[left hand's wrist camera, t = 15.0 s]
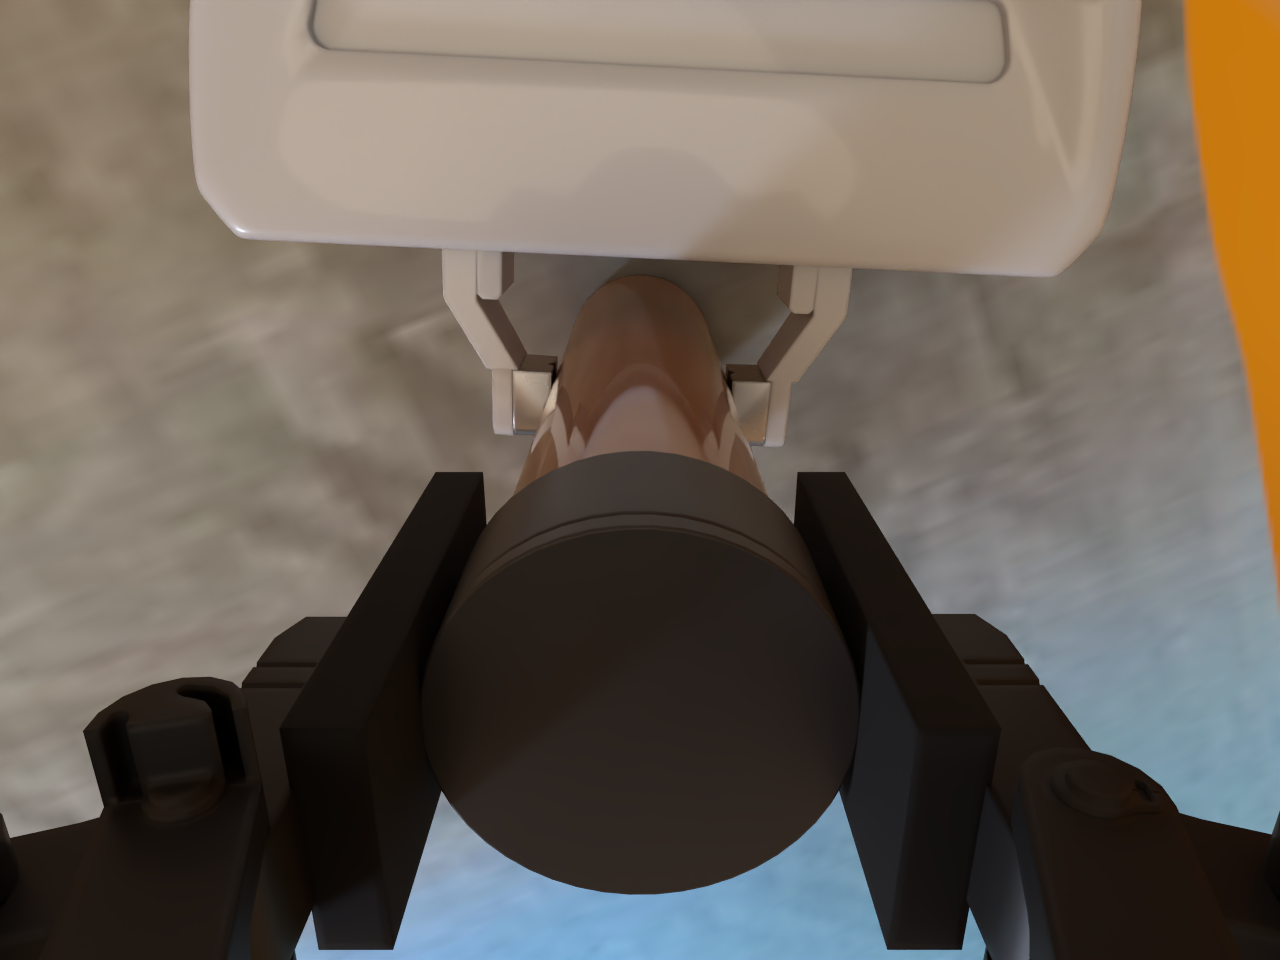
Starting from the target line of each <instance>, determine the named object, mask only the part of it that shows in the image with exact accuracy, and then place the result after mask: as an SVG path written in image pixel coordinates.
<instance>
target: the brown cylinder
mask: <svg viewBox="0 0 1280 960" xmlns="http://www.w3.org/2000/svg"><path fill="white" fill-rule="evenodd" d="M623 451H655V452H664V453H673V454H679V455H683V456H687V457H691V458H695V459H700V460H703V461H705V462H708V463H711V464H713V465H716V466H719V467H721V468H724V469H726V470H728V471H730V472H731V473H733V474H735V475H737V476H739V477H741V478H743V479H744V480H746V481H748V482H749V483H750V484H752V485H753V486H755V487H756V488H757V489H759V490H760V491H761V492H763V493H764V494H766V495H767V492H766V489H765V486H764V484H763V481H762V478H761V475H760V472H759V470H758V467H757V464H756V461H755V458H754V456H753V453H752V450H751V447H750V444H749V442H748V439H747V436H746V433H745V430H744V427H743V425H742V422H741V419H740V416H739V413H738V411H737V408H736V405H735V402H734V399H733V397H732V394H731V391H730V388H729V385H728V383H727V380H726V377H725V374H724V371H723V368H722V366H721V363H720V360H719V357H718V354H717V352H716V349H715V346H714V343H713V340H712V338H711V335H710V332H709V329H708V326H707V324H706V321H705V318H704V316H703V314H702V312H701V310H700V308H699V306H698V305H697V304H696V302H695V301H694V300H693V298H692V297H691V296H690V295H689V294H688V293H687V292H685V291H684V290H683V289H681V288H680V287H679V286H677V285H675V284H674V283H672V282H670V281H667V280H665V279H662V278H658V277H655V276H648V275H633V276H626V277H623V278H619V279H616V280H614V281H612V282H609V283H607V284H606V285H604V286H603V287H601V288H600V289H598V290H597V291H596V292H595V293H593V295H592V296H591V297H590V298H589V299H588V300H587V301H586V303H585V304H584V305H583V307H582V308H581V310H580V312H579V314H578V316H577V319H576V322H575V324H574V327H573V330H572V333H571V335H570V338H569V341H568V344H567V347H566V349H565V352H564V355H563V358H562V361H561V363H560V366H559V369H558V372H557V375H556V377H555V380H554V383H553V386H552V388H551V391H550V394H549V397H548V400H547V402H546V405H545V408H544V411H543V414H542V416H541V419H540V422H539V425H538V428H537V430H536V433H535V436H534V439H533V442H532V444H531V447H530V450H529V453H528V456H527V458H526V461H525V464H524V467H523V470H522V472H521V475H520V478H519V481H518V484H517V486H516V489H515V492H514V495H515V494H517V493H518V492H519V491H521V490H522V489H523V488H525V487H526V486H527V485H529V484H530V483H531V482H533V481H535V480H537V479H538V478H540V477H542V476H544V475H545V474H547V473H549V472H551V471H553V470H555V469H557V468H560V467H562V466H565V465H567V464H570V463H572V462H575V461H578V460H582V459H586V458H589V457H593V456H597V455H601V454H609V453H616V452H623ZM514 495H513V496H514ZM767 496H768V495H767Z"/></svg>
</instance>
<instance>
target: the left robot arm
mask: <svg viewBox="0 0 1280 960" xmlns="http://www.w3.org/2000/svg"><path fill="white" fill-rule="evenodd" d="M486 526H487V524H486V510H485V495H484V481H483V472H436V473H435V474H434V476H433V477H432V479H431V481H430V482H429V484H428V486H427V487H426V489H425V490H424V492H423V494H422V495H421V497H420V499H419V500H418V502H417V504H416V505H415V507H414V508H413V510H412V512H411V513H410V515H409V517H408V518H407V520H406V522H405V523H404V525H403V526H402V528H401V530H400V531H399V533H398V535H397V536H396V538H395V539H394V541H393V543H392V544H391V546H390V548H389V549H388V551H387V553H386V554H385V556H384V557H383V559H382V561H381V562H380V564H379V566H378V567H377V569H376V571H375V572H374V574H373V575H372V577H371V579H370V580H369V582H368V584H367V585H366V587H365V588H364V590H363V592H362V593H361V595H360V597H359V598H358V600H357V602H356V603H355V605H354V606H353V608H352V610H351V611H350V613H349V615H348V616H347V617H305V618H304V619H302V620H301V621H299V622H298V623H296V624H295V625H293V626H292V627H290V628H289V629H287V630H286V631H284V632H283V633H281V634H280V635H278V636H277V637H275V638H274V640H273V641H272V642H271V644H270V645H269V647H268V648H267V649H266V651H265V652H264V653H263V655H262V656H261V657H260V659H259V660H258V662H257V667H253V668H252V670H251V671H250V673H249V674H248V675H247V677H246V678H245V679H244V681H243V682H242V688H239V687H238V686H236V685H235V684H234V683H233V682H230V681H226V680H222V679H217V678H213V677H192V678H180V679H175V680H171V681H166V682H162V683H157V684H153V685H150V686H148V687H145V688H143V689H140V690H138V691H136V692H133V693H131V694H128V695H126V696H123V697H122V698H120V699H119V700H117V701H116V702H114V703H113V704H111V705H110V706H108V707H107V708H105V709H104V710H102V711H101V712H99V713H98V714H97V715H96V716H95V717H94V719H93V720H92V721H91V722H90V723H89V725H88V726H87V727H86V728H85V729H84V731H83V733H84V736H85V740H86V744H87V747H88V751H89V754H90V758H91V762H92V765H93V769H94V772H95V776H96V780H97V783H98V787H99V790H100V794H101V798H102V801H103V805H104V808H103V811H102V813H101V815H100V817H99V818H95V819H92V820H88V821H85V822H81V823H77V824H73V825H68V826H63V827H59V828H54V829H50V830H45V831H40V832H36V833H31V834H27V835H22V836H17V837H13V838H10V837H9V834H8V831H7V828H6V825H5V822H4V819H3V816H2V814H1V813H0V960H296V954H295V948H296V945H297V943H298V941H299V938H300V936H301V934H302V931H303V929H304V927H305V924H306V922H307V919H308V917H309V915H310V912H311V910H312V914H313V920H314V926H315V931H316V937H317V942H318V948H319V950H393V948H394V945H395V942H396V938H397V935H398V932H399V929H400V925H401V922H402V919H403V915H404V912H405V909H406V906H407V902H408V899H409V896H410V892H411V889H412V886H413V883H414V879H415V876H416V873H417V869H418V866H419V863H420V860H421V856H422V853H423V850H424V846H425V843H426V840H427V837H428V833H429V830H430V827H431V823H432V820H433V817H434V814H435V810H436V807H437V804H438V800H439V797H440V794H441V791H442V790H441V789H440V787H439V785H438V783H437V781H436V779H435V776H434V774H433V772H432V770H431V767H430V765H429V762H428V759H427V755H426V752H425V748H424V740H423V731H422V721H421V711H420V688H421V683H422V678H423V673H424V668H425V665H426V662H427V659H428V656H429V654H430V651H431V648H432V646H433V643H434V640H435V638H436V636H437V633H438V631H439V629H440V626H441V623H442V621H443V619H444V616H445V614H446V611H447V609H448V606H449V604H450V602H451V599H452V597H453V594H454V592H455V589H456V587H457V585H458V582H459V580H460V577H461V575H462V572H463V570H464V568H465V565H466V563H467V560H468V558H469V555H470V553H471V551H472V549H473V547H474V545H475V543H476V542H477V540H478V538H479V536H480V534H481V532H482V531H483V530H484V528H485V527H486ZM794 526H795V527H796V528H797V530H798V532H799V533H800V535H801V537H802V539H803V540H804V542H805V544H806V545H807V547H808V549H809V552H810V554H811V557H812V559H813V562H814V564H815V566H816V569H817V571H818V574H819V576H820V579H821V581H822V584H823V586H824V589H825V591H826V593H827V596H828V598H829V601H830V603H831V606H832V608H833V611H834V613H835V615H836V618H837V620H838V623H839V625H840V628H841V630H842V633H843V635H844V638H845V640H846V643H847V645H848V648H849V650H850V653H851V655H852V658H853V660H854V663H855V667H856V671H857V676H858V680H859V685H860V694H861V708H860V718H859V728H858V737H857V745H856V750H855V754H854V758H853V761H852V764H851V766H850V769H849V771H848V773H847V776H846V778H845V780H844V783H843V784H842V786H841V788H840V789H839V792H840V795H841V799H842V802H843V805H844V808H845V812H846V815H847V818H848V822H849V825H850V828H851V831H852V835H853V838H854V841H855V845H856V848H857V851H858V854H859V858H860V861H861V864H862V868H863V871H864V874H865V877H866V881H867V884H868V887H869V891H870V894H871V897H872V900H873V904H874V907H875V910H876V914H877V917H878V920H879V923H880V927H881V930H882V933H883V937H884V940H885V943H886V946H887V950H962V945H963V940H964V934H965V929H966V923H967V917H968V912H969V907H970V909H971V911H972V914H973V916H974V918H975V921H976V923H977V925H978V928H979V930H980V932H981V935H982V937H983V939H984V942H985V944H986V949H985V954H984V959H983V960H1280V812H1279V815H1278V818H1277V821H1276V824H1275V827H1274V830H1273V833H1272V834H1267V833H1262V832H1258V831H1253V830H1248V829H1244V828H1239V827H1235V826H1230V825H1225V824H1221V823H1216V822H1212V821H1207V820H1202V819H1199V818H1195V817H1192V816H1188V815H1185V814H1181V813H1179V811H1178V809H1177V807H1176V805H1175V804H1174V802H1173V801H1172V800H1171V798H1170V797H1169V795H1168V794H1167V793H1166V791H1165V790H1164V788H1163V787H1162V786H1161V785H1160V784H1158V783H1157V782H1156V781H1154V780H1153V779H1152V778H1150V777H1149V776H1148V775H1146V774H1145V773H1144V772H1143V771H1141V770H1140V769H1138V768H1136V767H1134V766H1132V765H1130V764H1128V763H1126V762H1124V761H1121V760H1119V759H1117V758H1115V757H1113V756H1111V755H1107V754H1103V753H1099V752H1095V751H1091V749H1090V748H1089V747H1088V745H1087V744H1086V743H1085V741H1084V740H1083V738H1082V737H1081V736H1080V734H1079V733H1078V732H1077V730H1076V729H1075V728H1074V726H1073V725H1072V724H1071V722H1070V721H1069V719H1068V718H1067V717H1066V715H1065V714H1064V713H1063V711H1062V710H1061V709H1060V707H1059V706H1058V705H1057V703H1056V702H1055V700H1054V699H1053V698H1052V696H1051V695H1050V694H1049V692H1048V691H1047V690H1046V688H1045V687H1044V686H1043V685H1040V684H1039V679H1038V677H1037V676H1036V675H1035V673H1034V672H1033V671H1032V669H1031V668H1030V667H1029V665H1028V664H1025V663H1024V658H1023V657H1022V656H1021V654H1020V653H1019V652H1018V650H1017V649H1016V648H1015V646H1014V645H1013V643H1012V642H1011V641H1010V639H1009V638H1008V637H1007V635H1005V634H1004V633H1002V632H1001V631H999V630H998V629H996V628H995V627H993V626H992V625H991V624H989V623H988V622H986V621H985V620H983V619H982V618H980V617H979V616H977V615H976V614H931V612H930V610H929V609H928V607H927V605H926V604H925V602H924V601H923V599H922V597H921V596H920V594H919V592H918V591H917V589H916V588H915V586H914V584H913V583H912V581H911V579H910V578H909V576H908V574H907V573H906V571H905V570H904V568H903V566H902V565H901V563H900V561H899V560H898V558H897V557H896V555H895V553H894V552H893V550H892V548H891V547H890V545H889V543H888V542H887V540H886V539H885V537H884V535H883V534H882V532H881V530H880V529H879V527H878V525H877V524H876V522H875V521H874V519H873V517H872V516H871V514H870V512H869V511H868V509H867V508H866V506H865V504H864V503H863V501H862V499H861V498H860V496H859V494H858V493H857V491H856V490H855V488H854V486H853V485H852V483H851V481H850V480H849V478H848V476H847V475H846V473H845V472H798V475H797V489H796V503H795V518H794Z"/></svg>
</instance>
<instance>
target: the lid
mask: <svg viewBox="0 0 1280 960" xmlns="http://www.w3.org/2000/svg"><path fill="white" fill-rule="evenodd" d="M860 708H861V694H860V685H859V680H858V676H857V671H856V667H855V663H854V660H853V658H852V655H851V653H850V650H849V648H848V645H847V643H846V640H845V638H844V635H843V633H842V630H841V628H840V625H839V623H838V620H837V618H836V615H835V613H834V611H833V608H832V606H831V603H830V601H829V598H828V596H827V593H826V591H825V589H824V586H823V584H822V581H821V579H820V576H819V574H818V571H817V569H816V566H815V564H814V562H813V559H812V557H811V554H810V552H809V549H808V547H807V545H806V544H805V542H804V540H803V539H802V537H801V535H800V533H799V532H798V530H797V528H796V527H795V526H794V524H793V523H792V522H791V521H790V519H789V518H788V517H787V516H786V514H785V513H784V512H783V511H782V510H781V509H780V508H779V507H778V506H777V505H776V504H775V503H774V502H773V501H772V500H771V499H770V498H769V497H768V496H767V495H766V494H764V493H763V492H761V491H760V490H759V489H757V488H756V487H755V486H753V485H752V484H750V483H749V482H748V481H746V480H744V479H743V478H741V477H739V476H737V475H735V474H733V473H731V472H730V471H728V470H726V469H724V468H721V467H719V466H716V465H713V464H711V463H708V462H705V461H703V460H700V459H695V458H691V457H687V456H683V455H679V454H673V453H664V452H655V451H623V452H616V453H609V454H601V455H597V456H593V457H589V458H586V459H582V460H578V461H575V462H572V463H570V464H567V465H565V466H562V467H560V468H557V469H555V470H553V471H551V472H549V473H547V474H545V475H544V476H542V477H540V478H538V479H537V480H535V481H533V482H531V483H530V484H529V485H527V486H526V487H525V488H523V489H522V490H521V491H519V492H518V493H517V494H515V495H514V496H513V497H512V498H511V499H510V500H509V501H508V502H507V503H506V504H505V505H504V506H503V507H502V508H501V509H500V510H499V511H498V512H497V513H496V514H495V515H494V516H493V518H492V519H491V520H490V522H489V523H488V524H487V526H486V527H485V528H484V530H483V531H482V532H481V534H480V536H479V538H478V540H477V542H476V543H475V545H474V547H473V549H472V551H471V553H470V555H469V558H468V560H467V563H466V565H465V568H464V570H463V572H462V575H461V577H460V580H459V582H458V585H457V587H456V589H455V592H454V594H453V597H452V599H451V602H450V604H449V606H448V609H447V611H446V614H445V616H444V619H443V621H442V623H441V626H440V629H439V631H438V633H437V636H436V638H435V640H434V643H433V646H432V648H431V651H430V654H429V656H428V659H427V662H426V665H425V668H424V673H423V678H422V683H421V688H420V711H421V721H422V731H423V740H424V748H425V752H426V755H427V759H428V762H429V765H430V767H431V770H432V772H433V774H434V776H435V779H436V781H437V783H438V785H439V787H440V789H441V790H442V792H443V793H444V795H445V797H446V798H447V800H448V801H449V803H450V804H451V806H452V807H453V809H454V810H455V811H456V812H457V813H458V814H459V816H460V817H461V818H462V819H463V820H464V822H465V823H466V824H467V825H468V826H469V827H470V828H471V829H472V830H473V831H474V832H475V833H476V834H478V835H479V836H480V837H481V838H482V839H483V840H484V841H485V842H486V843H488V844H489V845H490V846H492V847H493V848H495V849H496V850H497V851H499V852H500V853H502V854H503V855H504V856H506V857H507V858H509V859H511V860H513V861H515V862H516V863H518V864H520V865H522V866H523V867H525V868H527V869H529V870H531V871H534V872H536V873H538V874H541V875H543V876H545V877H548V878H550V879H552V880H556V881H559V882H562V883H566V884H569V885H572V886H576V887H580V888H585V889H590V890H595V891H600V892H608V893H619V894H663V893H672V892H681V891H686V890H691V889H696V888H701V887H705V886H709V885H712V884H715V883H718V882H722V881H725V880H728V879H731V878H734V877H736V876H738V875H740V874H743V873H745V872H747V871H749V870H752V869H754V868H756V867H758V866H759V865H761V864H763V863H765V862H766V861H768V860H770V859H771V858H773V857H775V856H777V855H778V854H779V853H781V852H782V851H783V850H785V849H786V848H787V847H789V846H790V845H791V844H793V843H794V842H795V841H797V840H798V839H799V838H800V837H801V836H802V835H803V834H804V833H805V832H806V831H807V830H808V829H810V828H811V827H812V826H813V825H814V824H815V823H816V822H817V820H818V819H819V818H820V817H821V815H822V814H823V813H824V812H825V810H826V809H827V808H828V807H829V805H830V804H831V803H832V801H833V799H834V798H835V796H836V794H837V793H838V791H839V789H840V788H841V786H842V784H843V783H844V780H845V778H846V776H847V773H848V771H849V769H850V766H851V764H852V761H853V758H854V754H855V750H856V745H857V737H858V728H859V718H860Z"/></svg>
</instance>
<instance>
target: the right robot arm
mask: <svg viewBox="0 0 1280 960" xmlns="http://www.w3.org/2000/svg"><path fill="white" fill-rule="evenodd" d="M1141 11H1142V0H190V24H189V94H190V118H191V134H192V149H193V161H194V170H195V177H196V181H197V185H198V188H199V190H200V193H201V194H202V196H203V198H204V199H205V200H206V201H207V202H208V204H209V205H210V206H211V207H212V208H213V210H214V211H215V212H216V213H217V214H218V216H219V217H220V218H221V219H222V221H223V222H224V223H225V224H226V225H227V226H228V227H229V228H230V229H231V230H232V232H233V233H234V234H236V235H237V236H239V237H241V238H244V239H253V240H272V241H292V242H313V243H334V244H355V245H376V246H397V247H418V248H439V249H442V272H443V298H444V300H445V301H446V303H447V305H448V306H449V308H450V310H451V311H452V313H453V314H454V316H455V318H456V319H457V321H458V323H459V324H460V326H461V327H462V329H463V331H464V332H465V334H466V336H467V337H468V339H469V341H470V342H471V344H472V345H473V347H474V349H475V350H476V352H477V354H478V355H479V357H480V358H481V360H482V362H483V363H484V365H485V367H486V368H487V369H492V405H493V429H494V433H495V434H502V435H512V436H514V435H535V433H536V430H537V428H538V425H539V422H540V419H541V416H542V414H543V411H544V408H545V405H546V402H547V400H548V397H549V394H550V391H551V388H552V386H553V383H554V380H555V377H556V375H557V356H545V355H530V354H527V352H526V350H525V348H524V346H523V345H522V343H521V341H520V339H519V337H518V335H517V334H516V332H515V330H514V328H513V326H512V324H511V323H510V321H509V319H508V317H507V315H506V313H505V312H504V310H503V308H502V306H501V304H500V302H499V301H498V298H499V297H500V296H501V295H502V294H503V293H504V292H505V291H506V290H507V289H508V288H509V287H510V285H511V284H512V283H513V282H514V252H522V253H543V254H564V255H585V256H606V257H627V258H647V259H668V260H689V261H710V262H731V263H752V264H773V265H779V274H778V286H777V295H778V296H779V298H780V299H781V300H782V301H783V302H784V303H785V304H786V306H787V307H788V308H789V309H790V310H791V311H792V312H791V313H790V315H789V316H788V318H787V319H786V321H785V322H784V324H783V325H782V327H781V328H780V330H779V331H778V332H777V334H776V335H775V337H774V338H773V340H772V341H771V343H770V344H769V346H768V347H767V349H766V350H765V352H764V353H763V355H762V356H761V358H760V359H759V361H758V362H757V364H758V365H741V364H726V374H725V377H726V380H727V383H728V385H729V388H730V391H731V394H732V397H733V399H734V402H735V405H736V408H737V411H738V413H739V416H740V419H741V422H742V425H743V427H744V430H745V433H746V436H747V439H748V442H749V444H750V446H769V447H782V446H783V444H784V441H785V437H786V429H787V421H788V412H789V403H790V394H791V385H792V383H797V382H798V381H799V379H800V378H801V377H802V375H803V374H804V373H805V371H806V370H807V369H808V367H809V366H810V365H811V364H812V362H813V361H814V360H815V358H816V357H817V356H818V354H819V353H820V352H821V350H822V349H823V348H824V346H825V345H826V344H827V342H828V341H829V340H830V338H831V337H832V336H833V334H834V333H835V332H836V330H837V329H838V328H839V326H840V325H841V324H842V323H843V321H844V320H845V319H846V316H847V309H848V301H849V294H850V287H851V280H852V272H853V268H856V269H877V270H898V271H919V272H940V273H961V274H982V275H1002V276H1025V277H1047V278H1048V277H1053V276H1057V275H1058V274H1060V273H1062V272H1063V271H1064V270H1065V269H1066V268H1067V267H1068V266H1070V265H1071V264H1072V263H1073V262H1074V261H1075V260H1076V259H1077V258H1078V257H1079V256H1080V255H1081V254H1082V253H1083V252H1084V251H1085V250H1086V248H1087V247H1088V246H1089V245H1090V244H1091V243H1092V242H1093V241H1094V240H1095V239H1096V238H1097V237H1098V235H1099V234H1100V232H1101V231H1102V229H1103V227H1104V224H1105V221H1106V218H1107V216H1108V213H1109V209H1110V206H1111V202H1112V198H1113V194H1114V189H1115V185H1116V180H1117V176H1118V171H1119V166H1120V161H1121V156H1122V151H1123V146H1124V141H1125V135H1126V129H1127V123H1128V117H1129V112H1130V105H1131V98H1132V91H1133V83H1134V76H1135V69H1136V60H1137V51H1138V42H1139V33H1140V22H1141Z"/></svg>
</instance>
